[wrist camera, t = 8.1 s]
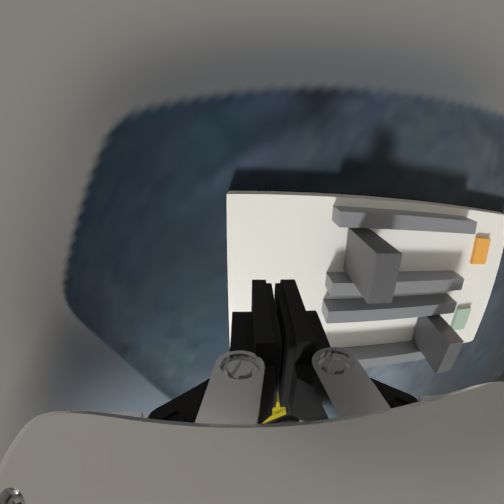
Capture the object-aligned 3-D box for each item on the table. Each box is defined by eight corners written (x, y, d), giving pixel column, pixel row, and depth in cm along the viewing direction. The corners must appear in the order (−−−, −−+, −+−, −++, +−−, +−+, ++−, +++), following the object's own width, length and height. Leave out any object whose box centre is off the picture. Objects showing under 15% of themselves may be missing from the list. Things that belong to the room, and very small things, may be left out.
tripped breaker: (369, 228, 19) (402, 253, 14) (363, 268, 20) (391, 302, 15) (348, 227, 19) (377, 253, 14) (343, 268, 20) (367, 303, 15)
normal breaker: (434, 309, 21) (463, 341, 16) (425, 337, 22) (450, 370, 18) (421, 310, 21) (449, 344, 16) (411, 338, 22) (436, 373, 17)
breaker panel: (499, 212, 20) (521, 221, 17) (466, 333, 25) (480, 349, 22) (228, 190, 20) (224, 198, 17) (231, 352, 24) (229, 378, 21)
